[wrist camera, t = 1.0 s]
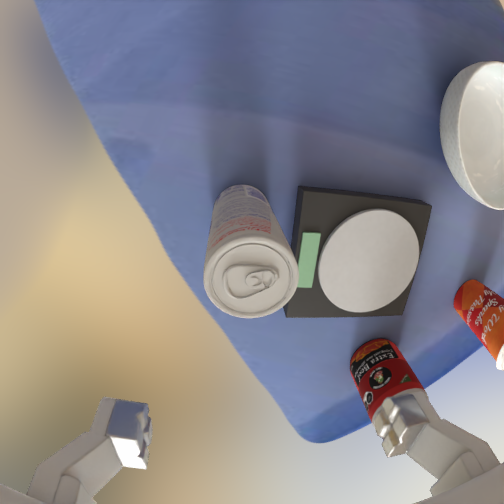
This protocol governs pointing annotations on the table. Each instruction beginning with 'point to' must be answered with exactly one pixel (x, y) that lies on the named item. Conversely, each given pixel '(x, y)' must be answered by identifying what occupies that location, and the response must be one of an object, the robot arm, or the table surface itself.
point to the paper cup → (483, 316)
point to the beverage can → (248, 256)
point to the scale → (354, 252)
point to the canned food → (381, 374)
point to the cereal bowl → (476, 131)
